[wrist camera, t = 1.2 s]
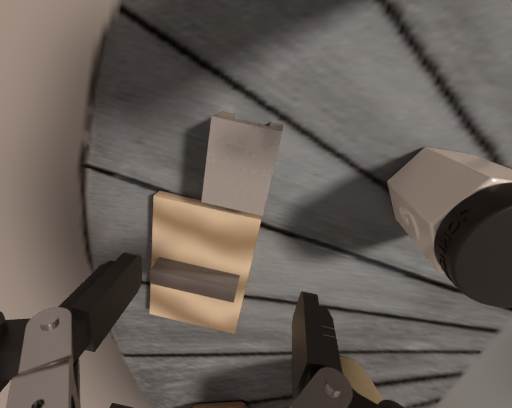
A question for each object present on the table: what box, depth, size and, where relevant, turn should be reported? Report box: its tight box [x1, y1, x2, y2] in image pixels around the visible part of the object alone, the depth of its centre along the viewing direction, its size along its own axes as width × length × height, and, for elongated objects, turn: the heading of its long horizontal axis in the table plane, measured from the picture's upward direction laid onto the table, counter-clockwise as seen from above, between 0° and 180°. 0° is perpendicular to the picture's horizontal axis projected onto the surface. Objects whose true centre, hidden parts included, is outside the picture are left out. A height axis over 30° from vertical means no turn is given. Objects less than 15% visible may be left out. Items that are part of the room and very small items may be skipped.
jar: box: [387, 147, 512, 308], centre depth 22 cm, size 9×8×12 cm
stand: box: [150, 191, 262, 334], centre depth 32 cm, size 18×12×4 cm, turn 169°
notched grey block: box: [201, 111, 283, 216], centre depth 26 cm, size 6×8×4 cm
